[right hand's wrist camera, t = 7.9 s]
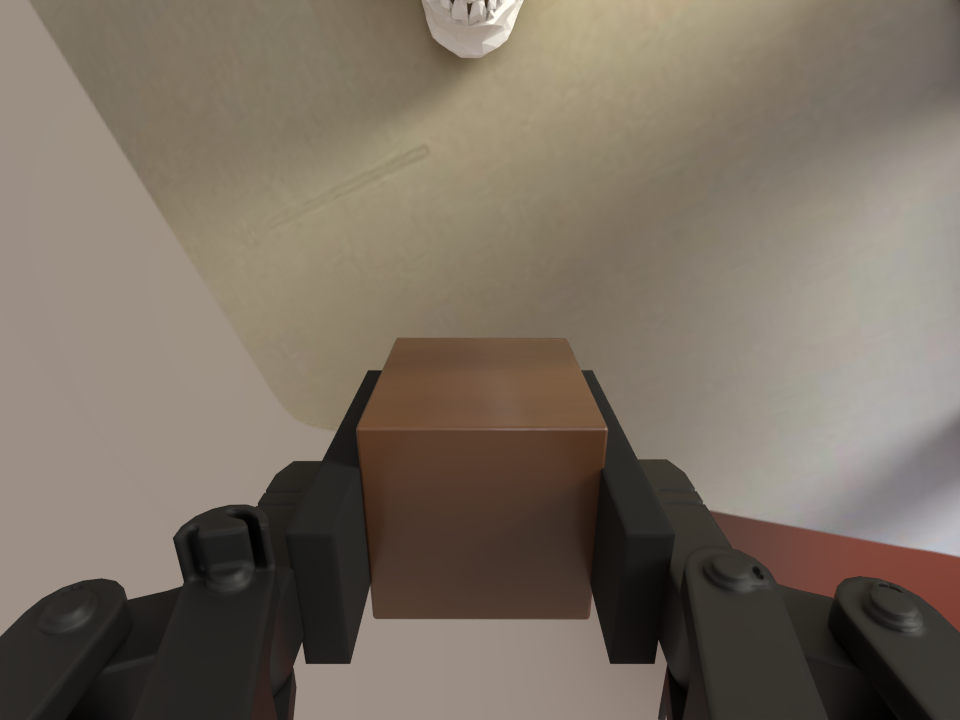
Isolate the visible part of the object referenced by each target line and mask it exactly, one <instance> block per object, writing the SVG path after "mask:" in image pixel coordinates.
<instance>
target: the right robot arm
mask: <svg viewBox="0 0 960 720" xmlns="http://www.w3.org/2000/svg"><path fill="white" fill-rule="evenodd" d="M581 371H582V374H583V376H584V378H585V380H586V382H587V384H588V387H589V389H590V391H591V393H592V395H593V397H594V400H595V402H596V404H597V406H598V408H599V410H600V413H601V415H602V417H603V419H604V421H605V423H606V426H607V428H608V436H607V447H606V457H605V467H604V468H603V469H601V477H600V487H599V498H598V509H597V519H596V530H595V540H594V551H593V561H592V572H591V583H590V586H591V590H592V594H593V597H594V602H595V605H596V609H597V613H598V617H599V621H600V625H601V629H602V633H603V637H604V641H605V645H606V649H607V653H608V657H609V661H610V664H654V663H655V658H656V651H657V645H658V639H659V642H660V645H661V647H662V650H663V653H664V656H665V658H666V661H667V669H666V675H665V680H664V686H663V692H662V697H661V703H660V709H659V716H658V719H659V720H665V718H666V716H667V720H960V633H959V632H958V631H957V630H956V629H955V628H954V627H953V626H952V625H951V624H950V623H949V622H948V621H947V620H946V619H945V618H944V617H943V616H942V615H941V614H940V613H939V612H938V611H937V610H936V609H935V608H933V607H932V606H931V605H930V604H928V603H927V602H926V601H925V600H923V599H922V598H921V597H920V596H918V595H916V594H914V593H912V592H910V591H908V590H907V589H905V588H903V587H901V586H899V585H896V584H893V583H890V582H887V581H884V580H881V579H878V578H869V577H861V576H858V577H853V578H847V579H845V580H844V581H842V582H841V583H840V584H839V585H838V586H837V589H836V592H835V595H834V598H831V597H827V596H823V595H818V594H814V593H810V592H805V591H801V590H797V589H793V588H789V587H786V586H783V585H780V584H777V583H776V581H775V579H774V578H773V576H772V574H771V573H770V571H769V570H768V569H767V568H766V567H765V566H764V565H762V564H761V563H760V562H759V561H758V560H756V559H755V558H753V557H751V556H749V555H747V554H745V553H743V552H741V551H739V550H736V549H733V548H732V547H731V545H730V543H729V542H728V540H727V539H726V537H725V536H724V534H723V532H722V531H721V529H720V528H719V526H718V524H717V523H716V521H715V520H714V518H713V517H712V515H711V513H710V512H709V510H708V509H707V507H706V505H703V501H702V499H701V498H700V496H699V494H698V493H697V491H695V488H694V487H693V485H692V483H691V482H690V480H689V479H688V477H687V476H686V474H685V473H684V472H683V471H682V470H680V469H679V468H678V467H676V466H675V465H674V464H672V463H671V462H669V461H668V460H638V459H637V457H636V455H635V453H634V452H633V450H632V448H631V446H630V444H629V442H628V440H627V438H626V436H625V434H624V432H623V430H622V428H621V426H620V424H619V422H618V420H617V418H616V416H615V414H614V412H613V410H612V408H611V406H610V404H609V402H608V400H607V398H606V396H605V395H604V393H603V391H602V389H601V387H600V385H599V383H598V381H597V379H596V377H595V375H594V373H593V371H592V370H581ZM381 372H382V370H368V372H367V374H366V376H365V378H364V380H363V382H362V384H361V386H360V388H359V389H358V391H357V393H356V395H355V397H354V399H353V401H352V403H351V405H350V407H349V409H348V411H347V413H346V415H345V417H344V419H343V421H342V423H341V425H340V427H339V429H338V431H337V433H336V435H335V437H334V439H333V441H332V443H331V445H330V446H329V448H328V450H327V452H326V454H325V456H324V458H323V460H322V461H294V462H292V463H291V464H289V465H288V466H287V467H285V468H284V469H283V470H281V471H280V472H279V473H277V474H276V475H275V477H274V478H273V480H272V482H271V483H270V485H269V486H268V488H267V490H266V493H264V494H263V496H262V497H261V499H260V501H259V502H258V506H256V507H253V506H250V505H227V506H223V507H219V508H214V509H211V510H209V511H207V512H204V513H202V514H200V515H198V516H195V517H194V518H193V519H191V520H190V521H188V522H187V523H186V524H184V525H183V526H182V527H181V528H180V529H179V530H178V532H177V533H176V535H175V536H174V537H173V540H174V544H175V548H176V552H177V556H178V560H179V564H180V568H181V572H182V576H183V579H184V584H183V586H182V587H178V588H175V589H172V590H168V591H165V592H160V593H156V594H152V595H148V596H143V597H139V598H134V599H130V600H127V597H126V594H125V590H124V588H123V587H122V586H121V585H120V584H119V583H118V582H116V581H113V580H108V579H102V578H101V579H93V580H85V581H81V582H78V583H75V584H72V585H69V586H66V587H63V588H61V589H59V590H57V591H55V592H53V593H52V594H50V595H48V596H46V597H44V598H42V599H41V600H40V601H38V602H37V603H36V604H35V605H33V606H32V607H31V608H30V609H28V610H27V611H26V612H25V613H24V614H23V615H22V616H21V617H20V618H19V619H18V620H17V621H16V622H15V623H14V624H13V625H12V626H11V627H10V628H9V629H8V630H7V631H6V632H5V633H4V634H3V635H2V636H1V637H0V720H293V717H294V707H295V696H296V681H295V674H294V669H293V665H294V662H295V660H296V657H297V654H298V651H299V649H300V646H301V643H303V649H304V655H305V661H306V664H350V662H351V659H352V654H353V651H354V646H355V642H356V639H357V635H358V631H359V627H360V623H361V619H362V615H363V611H364V607H365V603H366V599H367V595H368V591H369V587H370V573H369V562H368V551H367V540H366V529H365V519H364V508H363V497H362V486H361V475H360V467H359V456H358V445H357V434H356V428H357V425H358V423H359V421H360V419H361V417H362V414H363V412H364V410H365V408H366V406H367V403H368V401H369V399H370V397H371V394H372V392H373V390H374V388H375V386H376V383H377V381H378V379H379V377H380V375H381Z"/></svg>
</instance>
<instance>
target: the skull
mask: <svg viewBox="0 0 960 720" xmlns="http://www.w3.org/2000/svg"><path fill="white" fill-rule="evenodd" d="M523 1H524V0H488V6H487V7H485V3H484V0H455V1H454V4H452V2H451V1H450V0H422V4H423V7H424V11H425V15H426V20H427V23H428V26H429V29H430V32H431V35H432V37H433V38H434V39H435V40H436V41H437V42H438V43H439V44H441V45H442V46H444V47H445V48H447V49H448V50H450V51H451V52H453V53H454V54H456V55H457V56H459V57H460V58H481V57H483V56H484V55H486V54H488V53H489V52H491V51H493V50H495V49H496V48H498V47H499V46H500V45H502V44H503V43H504V42H505V41H507V40H508V37H509V35H510V33H511V31H512V28H513V26H514V23H515V20H516V17H517V15H518V12H519V10H520V7H521V5H522V3H523ZM467 3H468V4H470V3H472V7H471V12H470V15H468V13H467Z"/></svg>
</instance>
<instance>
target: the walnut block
mask: <svg viewBox="0 0 960 720" xmlns="http://www.w3.org/2000/svg"><path fill="white" fill-rule="evenodd" d="M356 434H357V445H358V456H359V467H360V475H361V486H362V497H363V508H364V519H365V529H366V540H367V551H368V562H369V573H370V587H371V598H372V609H373V616H374V618H375V619H588V618H589V616H590V609H591V599H592V590H591V586H590V583H591V572H592V561H593V551H594V540H595V530H596V519H597V509H598V498H599V487H600V477H601V469H603V468H604V467H605V457H606V447H607V436H608V428H607V426H606V423H605V421H604V419H603V417H602V415H601V413H600V410H599V408H598V406H597V404H596V402H595V400H594V397H593V395H592V393H591V391H590V389H589V387H588V384H587V382H586V380H585V378H584V376H583V374H582V371H581V369H580V367H579V365H578V363H577V361H576V358H575V356H574V354H573V352H572V350H571V348H570V345H569V343H568V341H567V339H565V338H397V339H396V341H395V343H394V346H393V348H392V350H391V352H390V355H389V357H388V359H387V361H386V363H385V366H384V368H383V370H382V372H381V375H380V377H379V379H378V381H377V383H376V386H375V388H374V390H373V392H372V394H371V397H370V399H369V401H368V403H367V406H366V408H365V410H364V412H363V414H362V417H361V419H360V421H359V423H358V425H357V428H356Z"/></svg>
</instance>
